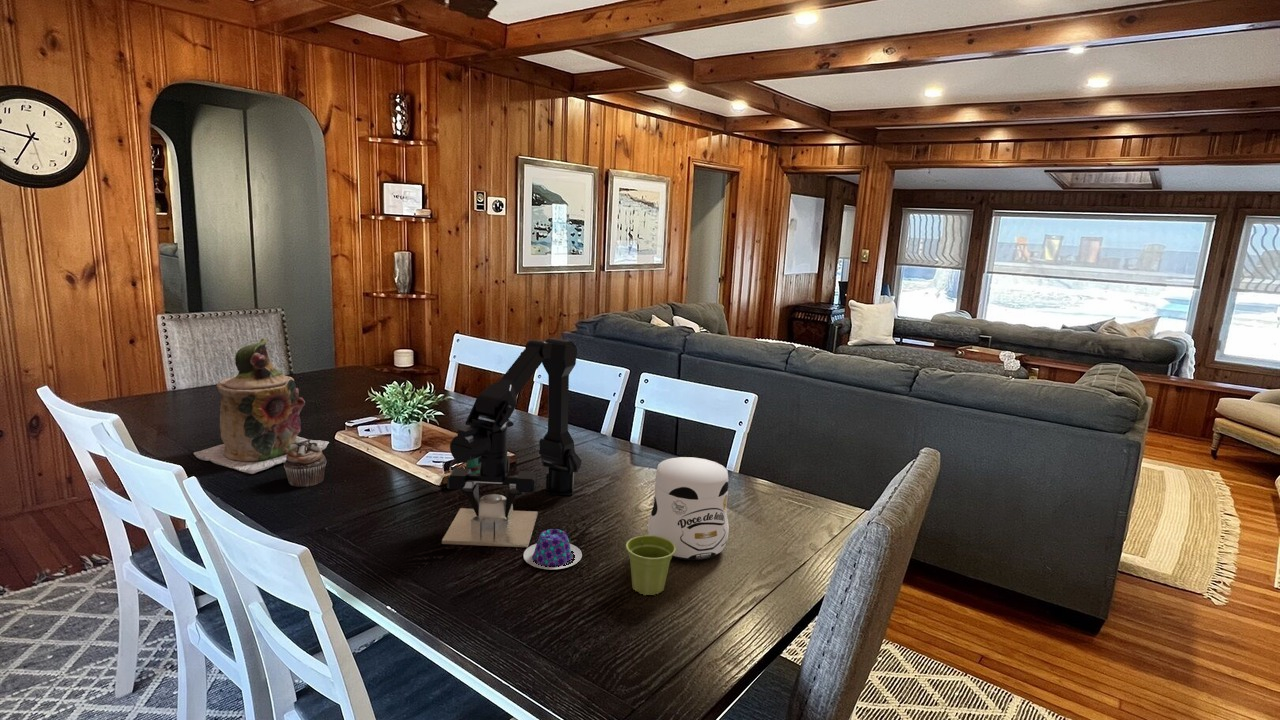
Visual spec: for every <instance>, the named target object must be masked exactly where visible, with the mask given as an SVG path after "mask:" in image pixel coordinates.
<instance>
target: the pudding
mask: <svg viewBox="0 0 1280 720" xmlns="http://www.w3.org/2000/svg"><path fill="white" fill-rule="evenodd" d="M571 551H573V552H574V553H573V554H574V555H575V558H574V559H575V560H574V561H573V563H571V564H569V565H566V563H567V564H568V562H570V561H572V560H571V559H573V554H572V553H571ZM582 557H583V554H582V551H581V549H580V548H578V546H576V545H574V544H572V543H570V540H569V536H568V534H567V532H566V531H564V530H561V529H558V528H557V529H553V528H549V529H547V530H543V531H541V533H540V534H539V536H538V539H537V541H536V543H535V544H532V545H530V546H528V547H526V549H525V550H524V552H523V560H524V561H525V562H526V563H527V564H529V565H530V566H532V567H534V568H538V569H543V570H561V569H566V568H569V567H572V566H574V565H576V564H578V562H580V561H581V559H582ZM569 560H570V561H569ZM533 561H534V562H533ZM567 561H568V562H567ZM535 562H536V563H537V564H536V563H535ZM538 564H539V565H538ZM564 564H565V565H566V566H563V565H564ZM541 565H542V566H541ZM556 565H557V566H556ZM545 566H547V567H545ZM549 566H551V567H549ZM552 566H555V567H552ZM558 566H559V567H558Z"/></svg>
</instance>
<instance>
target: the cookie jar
mask: <svg viewBox="0 0 1280 720" xmlns="http://www.w3.org/2000/svg"><path fill="white" fill-rule="evenodd" d="M266 345H267V340H266V338H264V337H263V338H261V339H260V341H259V342H257V343H253V344H249V345H245V346H242V347H241V348H240V349H238V351H237V352H236V353H235V358H234V362H235V363H234V364H235V366H236V369H237V370H238V374H237V375H236V376H232V377H227V378H225V379H222V380H220V381H219V382H217V384H216V388H217V390H218V392H219V394H221V397H220V406H219V407H220V408H219V411H220V415H219V430H220V438H221V441H222V442H223V443H222V444H219V445H218V444H217V445H216V446H212V447H209V448H205V449H202V450H199V451H193V455H194V456H195V457H196V458H197V459H199V460H201V461H207V462H210V463H213V464H215V465H219V466H223V467H226V468H229V469H234V470H237V471H239V472H243V473H245V474H251V475H253V474H256V473H258V472H262V471H264V470H267V469H268V470H269V468H272V467H274V466H276V465H280V464H282V463H283V464H285V461H286V460H287V459H286V456H287V454H288V453H289V451H290V450H291V449H290V445H292V444H294V443H300V442H302V441H307V440H308V439H307V438H305V437H300V436H298V435H299V433H300V432H301V428H302V427H301V418H300V413H301V411H302V410H303V408H304V406H305V405H306V401H305V400H304V398H303V397H300V396H299V393H300V389H299V388H298V387H297V385H296V383H295V378H293V377H291V376H288V375H285V374H284V373H283V372H281V371H280V370H279V369H277V368H275V367H274V366H273V364H272V363H271V361H270V357H269V353H268V349H267V346H266ZM310 440H311V442H313V443H314V442H315V443H317V445H319V446H321V449H320V450H321V451H322V452H323V451H324V450H325V449H326V448H327V446H328V444H329V443H330V442H329V441H326V440H319V439H318V440H315V439H314V440H313V439H310Z"/></svg>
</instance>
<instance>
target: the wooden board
mask: <svg viewBox="0 0 1280 720" xmlns="http://www.w3.org/2000/svg"><path fill="white" fill-rule="evenodd" d="M538 515H539V514H538V511H531V510H528V511H527V510H514V505H513V504H512V506H511V509H510V512H509V514H508V517H507V518H506V519H505V518H499V519H483V518H480V517H477V515H476V513H475V511H474V509H473V508H463V507H462V508H461V507H460V508H459V510H458V512H457V513H456V515H455V517H454V519H453V521H452V522H451V523H450V526H449V527H448V529H447V531H446V533H445V534H444V536H443V537H442V539H441V544H442V545H460V546H461V545H462V546H463V545H464V546H486V547H487V546H488V547H513V548H528V547H529V545H530V541H531V538H532V535H533V531H534V528H535V525H536V521H537V518H538Z"/></svg>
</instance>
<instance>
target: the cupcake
mask: <svg viewBox="0 0 1280 720" xmlns="http://www.w3.org/2000/svg"><path fill="white" fill-rule="evenodd" d="M311 440H312V439H307V441H302V442H300V443H294V444H292V445H290V449H291V450H290V451H289V453H288V454H287V456H286V459H287V460H286V461H285V462H284V464H283V468H284V470H285V474H286V478H287V481H288V484H289V485H290V486H293V487H296V488H297V487H298V488H304V487H312V486H316V485H318V484H320V483H322V482H324V479H325V471H326V466H327V465H326V464H327V461H328V460H327V459H326V456H325V455H324V454H323V450H322V451H321V450H320V449H321V446H319V445H317V443H315V442H314V443H313V442H311Z"/></svg>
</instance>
